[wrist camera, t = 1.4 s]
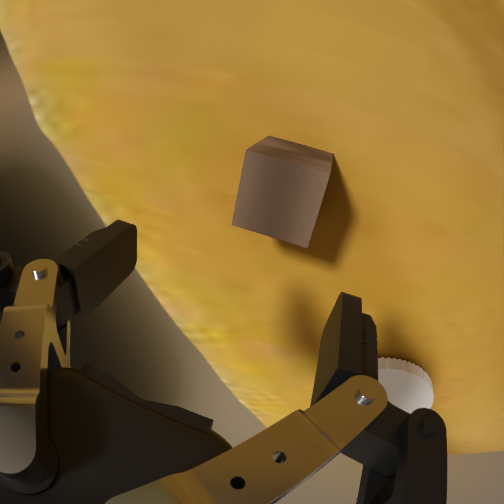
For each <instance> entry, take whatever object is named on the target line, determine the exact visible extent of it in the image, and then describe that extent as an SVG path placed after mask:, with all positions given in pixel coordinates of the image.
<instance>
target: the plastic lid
mask: <svg viewBox="0 0 504 504" xmlns="http://www.w3.org/2000/svg"><path fill="white" fill-rule="evenodd" d="M378 382H379V383H380V384H381V385H382V386H383V387H384V389H385V391H386V393H387V397H388V401H389V402H390V403H391V404H393V405H395V406H396V407H398V408H400V409H402V410H404V411H406V412H408V413H410V414H411V413H412V412H413V411H414V410H416V409H418V408H428V409H431V406H432V403H433V400H434V393H433V386H432V382H431V379H430V376H428V373H426V371H425V370H423V368H419V366H418V365H417V366H416V365H415V364H414V363H413V364H412V363H411V362H410V361H409V362H406V360H403V361H402V360H401V359H398V360H397V359H396V358H393V359H390V357H388V358H384V357H382V358H378Z"/></svg>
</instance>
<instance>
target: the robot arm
mask: <svg viewBox="0 0 504 504" xmlns="http://www.w3.org/2000/svg"><path fill="white" fill-rule="evenodd" d="M136 261H137V228H136V226H135V225H133V224H130V223H127V222H124V221H121V220H116V221H115V222H113V223H112V224H111V225H109V226H108V227H106V228H103V229H100V230H97V231H94V232H92V233H91V234H89V235H88V236H86V237H85V238H84V240H83V239H82V240H81V241H79V242H78V243H77V245H76V244H75V245H74V246H72V247H71V248H70V249H68V250H67V251H66V252H64V253H63V254H62V255H60V256H59V257H58V258H56V259H55V260H54V261H52V260H48V259H39V260H35V261H33V262H31V263H29V264H28V265H26V267H19V266H14V265H12V262H11V258H10V255H9V254H8V253H7V252H4V251H0V504H274V503H276V502H277V501H279V500H280V499H281V498H283V497H285V496H286V495H287V494H289V493H290V492H291V491H293V490H294V489H296V488H297V487H298V486H299V485H301V484H302V483H303V482H305V481H306V480H307V479H309V478H310V477H311V476H312V475H314V474H315V473H316V472H317V471H319V470H320V469H321V468H323V467H324V466H325V465H326V464H327V463H328V462H330V461H331V460H332V459H333V458H334V457H336V456H337V455H338V454H339V453H340V452H341V453H342V454H344V455H346V456H348V457H350V458H352V459H354V460H355V461H357V462H359V463H361V464H363V470H362V476H361V482H360V487H359V493H358V498H357V503H356V504H446V500H447V438H446V427H445V423H444V421H443V419H442V418H441V417H440V416H439V414H437V413H436V412H435V411H433V410H431V409H428V408H418V409H416V410H414V411H413V412H412V413H411V414H410V413H408V412H406V411H404V410H402V409H400V408H398V407H396V406H395V405H393V404H391V403H390V402H389V401H388V397H387V393H386V391H385V389H384V387H383V386H382V385H381V384H380V383H379V382H378V353H377V340H376V338H377V332H376V325H375V323H374V321H373V320H372V318H371V316H370V315H367V314H364V313H362V300H361V298H360V297H356V296H353V295H350V294H347V293H344V292H341V293H340V295H339V297H338V299H337V301H336V303H335V305H334V308H333V310H332V312H331V314H330V316H329V318H328V320H327V323H326V325H325V328H324V331H323V334H322V338H321V344H320V351H319V358H318V364H317V370H316V376H315V382H314V388H313V394H312V399H311V405H310V408H308V409H307V410H305V411H302V410H301V409H299V410H296V411H294V412H292V413H291V414H289V415H288V416H286V417H285V418H283V419H281V420H280V421H278V422H277V423H275V424H273V425H272V426H270V427H268V428H267V429H265V430H263V431H262V432H260V433H258V434H257V435H255V436H253V437H251V438H250V439H248V440H246V441H245V442H243V443H241V444H239V445H237V446H236V447H234V448H232V446H231V445H230V444H229V443H228V442H227V441H226V440H225V439H224V438H222V437H221V436H220V435H219V434H218V433H216V432H215V431H213V430H212V425H213V420H212V419H209V418H207V417H204V416H201V415H198V414H196V413H193V412H191V411H188V410H186V409H183V408H181V407H178V406H172V405H167V404H162V403H157V402H152V401H148V400H143V399H140V398H139V397H137V396H136V395H135V394H134V393H132V392H131V391H130V390H129V389H128V388H126V387H125V386H124V385H123V384H122V383H120V382H119V381H118V380H117V379H116V378H115V377H114V376H112V375H110V374H108V373H106V372H104V371H102V370H100V369H99V368H97V367H95V366H93V365H91V364H90V363H88V362H86V363H85V364H84V366H83V367H82V368H81V369H76V368H70V362H69V361H70V357H69V356H70V352H69V351H70V322H69V320H70V319H71V318H72V317H75V318H77V319H79V320H81V321H83V322H84V321H85V320H86V318H87V317H88V316H89V315H90V314H91V313H92V312H93V311H94V310H95V309H96V308H97V307H98V306H99V305H100V304H101V303H102V302H103V301H104V300H105V299H106V298H107V297H108V296H109V295H110V294H111V293H112V292H113V291H114V290H115V289H116V288H117V287H118V286H119V285H120V284H121V283H122V282H123V281H124V280H125V279H126V278H127V277H128V276H129V275H130V274H131V273H132V271H133V270H134V268H135V265H136Z"/></svg>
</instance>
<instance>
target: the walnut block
mask: <svg viewBox="0 0 504 504" xmlns="http://www.w3.org/2000/svg"><path fill="white" fill-rule="evenodd" d="M332 161H333V154H332V153H329V152H326V151H322V150H319V149H315V148H312V147H309V146H305V145H302V144H298V143H294V142H291V141H287V140H283V139H279V138H275V137H272V136H268V137H266V138H264V139H263V140H261V141H259V142H258V143H256V144H255V145H253V146H251V147H250V148H248V149H247V150H246V153H245V158H244V163H243V168H242V173H241V178H240V184H239V189H238V194H237V199H236V205H235V210H234V215H233V221H232V225H234V226H237V227H240V228H244V229H247V230H250V231H254V232H257V233H260V234H263V235H266V236H270V237H273V238H276V239H279V240H283V241H286V242H289V243H292V244H295V245H298V246H302V247H305V248H307V247H308V244H309V241H310V238H311V235H312V232H313V229H314V226H315V222H316V219H317V216H318V213H319V210H320V206H321V203H322V200H323V197H324V193H325V190H326V187H327V183H328V180H329V177H330V173H331V167H332Z"/></svg>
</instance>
